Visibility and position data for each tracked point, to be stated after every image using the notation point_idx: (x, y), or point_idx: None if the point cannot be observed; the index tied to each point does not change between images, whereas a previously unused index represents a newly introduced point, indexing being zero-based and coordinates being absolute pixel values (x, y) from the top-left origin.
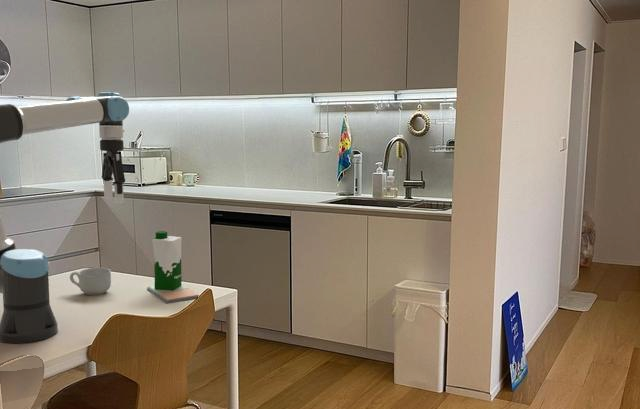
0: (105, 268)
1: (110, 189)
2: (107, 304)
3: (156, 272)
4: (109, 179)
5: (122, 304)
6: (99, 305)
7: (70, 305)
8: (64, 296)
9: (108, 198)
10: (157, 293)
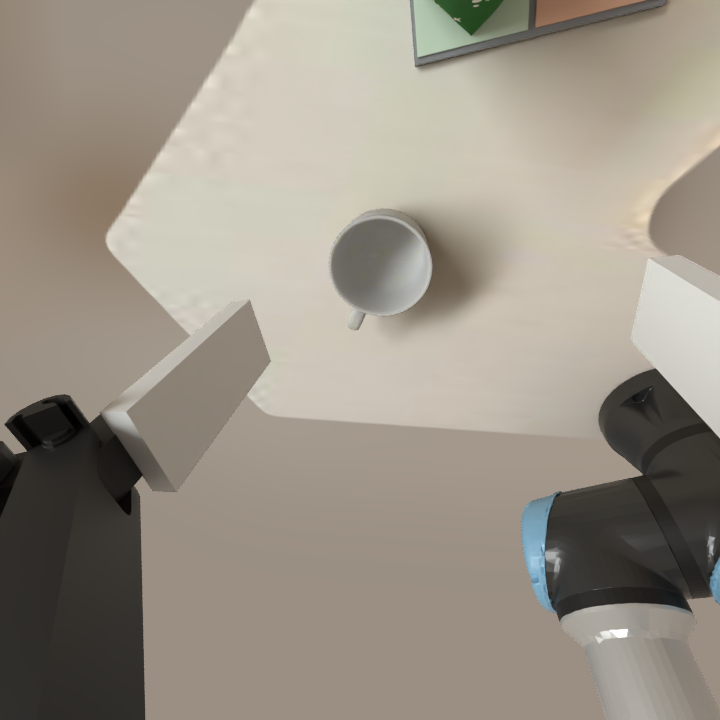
0: (347, 231)
1: (207, 365)
2: (530, 231)
3: (496, 5)
4: (102, 449)
5: (559, 186)
6: (526, 253)
7: (481, 320)
8: (387, 324)
9: (256, 338)
10: (527, 30)
